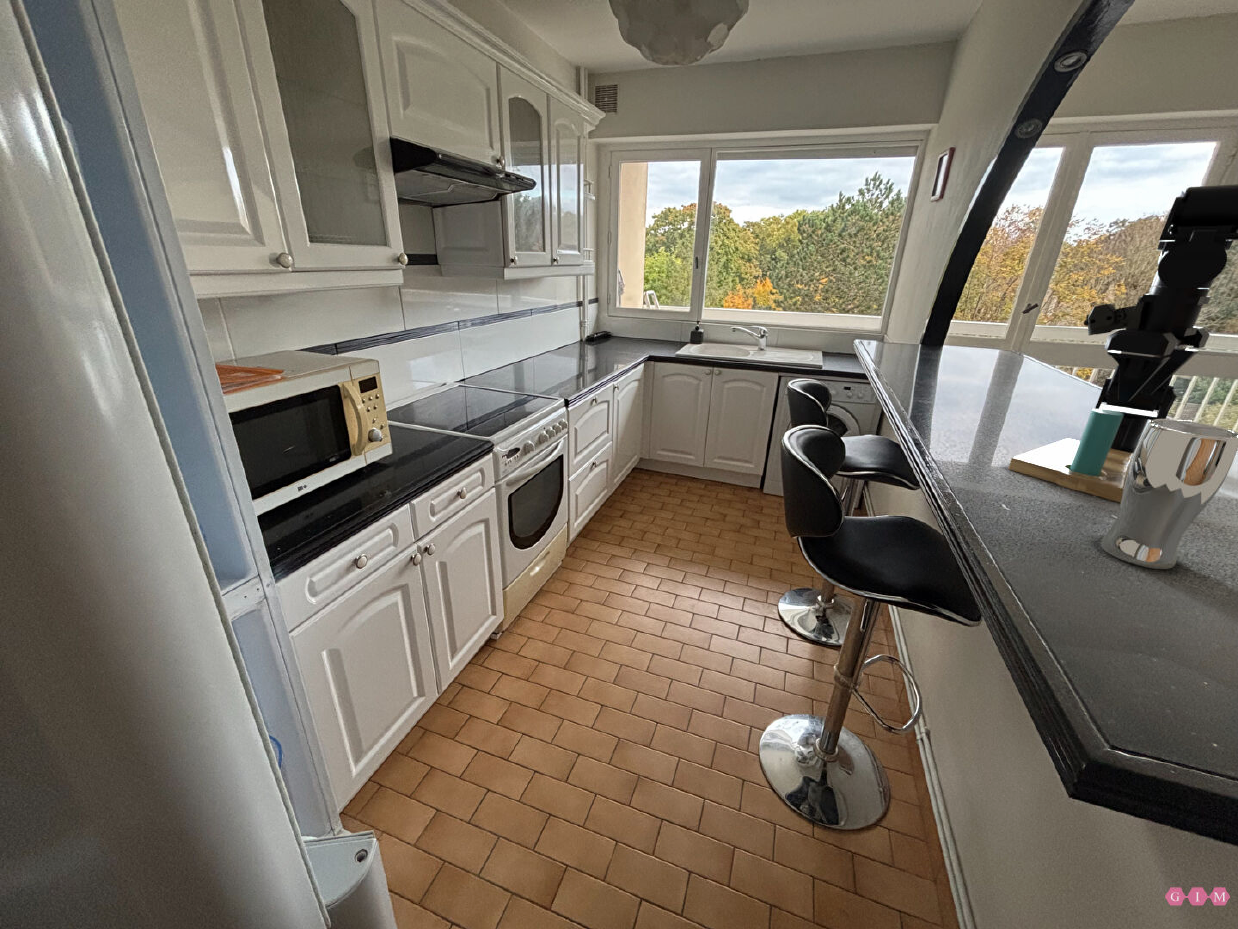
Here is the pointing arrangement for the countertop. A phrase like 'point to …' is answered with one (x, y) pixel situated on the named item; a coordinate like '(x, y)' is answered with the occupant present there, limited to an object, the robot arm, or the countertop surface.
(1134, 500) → the beer glass
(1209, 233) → the robot arm
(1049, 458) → the board
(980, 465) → the countertop surface
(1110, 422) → the peg
